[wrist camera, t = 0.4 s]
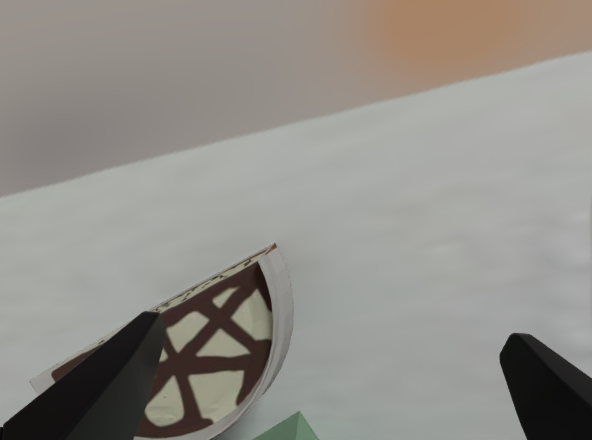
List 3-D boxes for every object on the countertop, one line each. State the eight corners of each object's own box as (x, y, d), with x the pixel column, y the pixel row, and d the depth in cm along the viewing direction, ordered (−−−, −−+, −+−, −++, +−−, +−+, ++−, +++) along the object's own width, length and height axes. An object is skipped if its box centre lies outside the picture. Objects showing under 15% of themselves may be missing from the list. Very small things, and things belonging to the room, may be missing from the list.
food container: (182, 389, 25) (86, 514, 15) (141, 313, 25) (18, 386, 15) (336, 312, 24) (344, 391, 14) (293, 232, 24) (270, 253, 14)
